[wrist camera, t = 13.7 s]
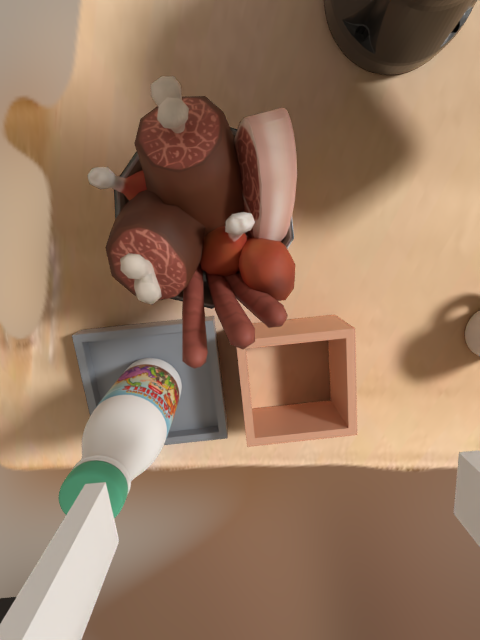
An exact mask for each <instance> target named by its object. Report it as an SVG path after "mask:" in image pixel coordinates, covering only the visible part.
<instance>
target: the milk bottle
mask: <svg viewBox="0 0 480 640" xmlns="http://www.w3.org/2000/svg"><path fill="white" fill-rule="evenodd" d="M181 390H182V383H181V379H180V376H179V374H178V373H177V371H176V370H175V369H174V368H173V367H172V366H171V365H170V364H169V363H167V362H165V361H163V360H160V359H156V358H144V359H140V360H138V361H136V362H134V363H133V364H131V365H130V366H129V367H128V368H127V369H126V370H125V371H124V373H123V374H122V375H121V376H120V377H119V379H118V380H117V381H116V382H115V384H114V385H113V386H112V387H111V389H110V390H109V391H108V392H107V394H106V395H105V396H104V398H103V399H102V400H101V401H100V403H99V404H98V405H97V407H96V408H95V410H94V411H93V413H92V414H91V416H90V418H89V420H88V422H87V424H86V426H85V429H84V433H83V438H82V459H81V460H80V461H79V462H78V463H77V464H76V465H75V466H74V468H73V469H72V471H71V472H70V473H69V475H68V476H67V478H66V479H65V481H64V482H63V484H62V486H61V488H60V492H59V503H60V506H61V509H62V510H63V512H64V513H65V514H66V515H67V513H68V512H69V510H70V508H71V507H72V505H73V504H74V502H75V500H76V499H77V497H78V495H79V494H80V492H81V490H82V489H83V487H84V485H85V484H91V483H102V482H106V486H107V490H108V494H109V499H110V503H111V508H112V512H113V516H114V518H115V517H116V516H117V515H118V514H119V512H120V511H121V509H122V507H123V505H124V503H125V500H126V497H127V494H128V492H129V490H130V486H131V481H132V480H133V479H134V478H135V477H136V476H138V475H139V474H141V473H142V472H144V471H145V470H146V469H147V468H148V467H149V466H150V465H151V464H152V463H153V462H154V461H155V459H156V458H157V457H158V455H159V453H160V452H161V450H162V448H163V446H164V443H165V441H166V438H167V436H168V433H169V430H170V427H171V424H172V421H173V418H174V415H175V411H176V408H177V405H178V402H179V399H180V395H181Z"/></svg>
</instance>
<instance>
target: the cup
mask: <svg viewBox="0 0 480 640" xmlns="http://www.w3.org/2000/svg"><path fill="white" fill-rule="evenodd" d="M465 341H466V343H467V346H468V348H469V349H470V350H471V351H472V352H473V353H475V354H476V355H478V356H480V310H479V311H478V312H476V313H475V314H474V315H473V316H472V317H471V318H470V320H469V321H468V323H467V326H466V329H465Z"/></svg>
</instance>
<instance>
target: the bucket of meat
mask: <svg viewBox="0 0 480 640" xmlns="http://www.w3.org/2000/svg"><path fill="white" fill-rule="evenodd" d="M151 97H152V99H153V100H154V101H155V103H156V104H157V107H156V108H155V109H153V110H152V111H151V112H149V113H148V114H147V115H145V116H144V117H143V118H141V120H140V124H139V128H138V132H137V136H136V140H135V147H136V150H137V152H136V153H135V155H134V156H133V157H132V159H131V160H130V162H129V163H128V165H127V166H126V168H125V169H124V171H123V172H122V174H121V175H120V177H119V176H116V175H115V174H114V173H113V172H112V171H111V170H110V169H109V168H108V167H96V168H92V169H91V171H90V172H89V174H88V180H89V184H91V185H93V186H95V187H97V188H99V189H106V188H112V189H114V198H115V222H114V225H113V227H112V230H111V232H110V236H109V239H108V242H107V245H106V251H107V256H108V260H109V265H110V269H111V274H112V276H113V277H114V278H115V279H116V280H117V281H119V282H120V283H121V284H122V285H123V286H124V287H126V288H127V289H128V290H129V291H130V292H131V293H133V294H134V295H135V296H137V298H138V300H140V301H142V302H144V303H148V304H153V303H155V302H156V301H157V300H162V299H168V298H171V299H175V300H179V301H183V308H182V361H183V362H184V363H185V364H187V365H188V366H190V367H192V368H194V369H195V368H198V367H201V366H202V365H203V364H204V363H206V358H207V354H208V351H207V338H206V325H205V312H204V307H207V308H211V309H212V308H214V307H215V311H216V313H217V315H218V318H219V320H220V322H221V324H222V326H223V329H224V331H225V333H226V335H227V338H228V340H229V342H230V344H231V345H233V346H235V347H238V348H240V349H245V348H246V347H248V346H249V345H251V344H252V343H254V342H255V328H254V326H253V324H252V323H251V321H250V320H249V318H248V317H247V315H246V314H245V312H244V310H243V309H242V307H241V306H240V304H239V303H238V301H237V300H236V298H237V299H238V300H239V301H240V302H241V303H242V304H243V305H244V306H245V307H246V308H247V309H249V310H250V311H251V312H252V313H253V314H254V315H255V316H256V317H257V318H258V319H260V320H261V321H262V322H263V323H264V324H265V325H266V326H267V327H268V328H272V327H281V326H282V325H283V324H284V322H285V321H286V319H287V313H286V311H285V308H284V306H283V305H282V304H281V303H279V302H278V301H280V300H286V298H287V297H288V296H289V294H290V293H291V292H292V290H293V289H294V280H295V263H294V261H293V259H292V257H291V255H290V253H289V251H288V250H287V249H288V247H289V246H290V244H291V242H292V241H293V239H294V233H293V222H292V213H293V208H294V203H295V192H296V181H297V158H296V146H295V139H294V132H293V128H292V123H291V119H290V116H289V114H288V112H287V110H286V109H284V108H278V109H274V110H271V111H267V112H263V113H259V114H256V115H252V116H248V117H244V118H243V119H242V121H241V122H240V124H239V127H238V130H237V129H234V128H231V127H229V124H228V122H227V120H226V117H225V115H224V112H222V111H221V110H220V109H219V108H218V107H217V106H216V105H214V104H213V103H212V102H211V101H210V100H209V99H208V98H207V97H205V96H197V97H182V90H181V85H180V83H179V82H178V81H177V79H176V78H175V77H174V76H161V77H160V78H159V79H157V80H156V81H155V82H153V83H152V84H151Z"/></svg>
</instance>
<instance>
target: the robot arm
mask: <svg viewBox="0 0 480 640" xmlns="http://www.w3.org/2000/svg"><path fill="white" fill-rule="evenodd" d="M476 1H477V0H324V4H325V12H326V17H327V21H328V25H329V28H330V31H331V33H332V35H333V37H334V39H335V41H336V43H337V45H338V46H339V48H340V49H341V50H342V52H343V53H344V54H345V55H346V56H347V57H348V58H349V59H350V60H351V61H352V62H354V63H355V64H356V65H358V66H360V67H361V68H363V69H365V70H368V71H370V72H373V73H378V74H384V75H394V74H401V73H405V72H409V71H411V70H414V69H416V68H418V67H420V66H422V65H423V64H425V63H426V62H428V61H429V60H431V59H432V58H433V57H434V56H435V55H436V54H437V53H439V52H440V51H441V50H442V49H443V48H444V47H445V46H446V45H447V44H448V43H449V42H450V41H451V40H452V39H453V38H454V37H455V35H456V34H457V33H458V32H459V30H460V29H461V28H462V26H463V25H464V23H465V22H466V20H467V18H468V16H469V14H470V13H471V11H472V8H473V6H474V5H475V3H476ZM454 515H455V516H456V517H457V518H458V520H459V521H460V522H461V524H462V525H463V526H464V527H465V529H466V530H467V531H468V532H469V534H470V535H471V536H472V538H473V539H474V540H475V542H476V543H477V544H478V545H479V547H480V451H469V452H459V458H458V470H457V481H456V493H455V505H454ZM118 543H119V538H118V534H117V529H116V525H115V521H114V516H113V512H112V508H111V503H110V499H109V494H108V490H107V486H106V482H102V483H91V484H85V485H84V487H83V489H82V490H81V492H80V494H79V495H78V497H77V499H76V500H75V502H74V504H73V505H72V507H71V508H70V510H69V512H68V513H67V515H66V517H65V519H64V520H63V522H62V523H61V525H60V527H59V528H58V530H57V531H56V533H55V535H54V537H53V538H52V540H51V541H50V543H49V545H48V546H47V548H46V550H45V551H44V553H43V554H42V556H41V558H40V559H39V561H38V563H37V564H36V566H35V568H34V569H33V571H32V573H31V574H30V576H29V577H28V579H27V581H26V583H25V584H24V586H23V587H22V589H21V591H20V592H19V594H18V596H17V597H11V598H1V599H0V640H81V639H82V636H83V634H84V631H85V629H86V626H87V623H88V621H89V618H90V616H91V613H92V610H93V608H94V605H95V603H96V600H97V597H98V595H99V592H100V590H101V587H102V584H103V582H104V579H105V577H106V574H107V571H108V569H109V566H110V564H111V561H112V558H113V556H114V553H115V551H116V548H117V545H118Z"/></svg>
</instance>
